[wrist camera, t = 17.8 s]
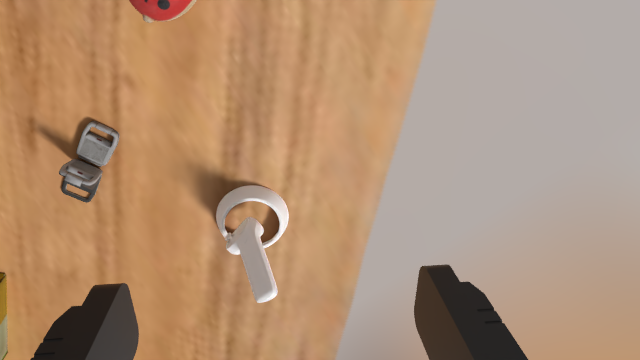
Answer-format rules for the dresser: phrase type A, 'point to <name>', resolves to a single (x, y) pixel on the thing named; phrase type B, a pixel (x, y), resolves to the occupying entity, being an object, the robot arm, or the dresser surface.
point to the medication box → (3, 316)
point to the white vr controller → (253, 237)
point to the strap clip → (93, 152)
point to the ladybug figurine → (162, 9)
